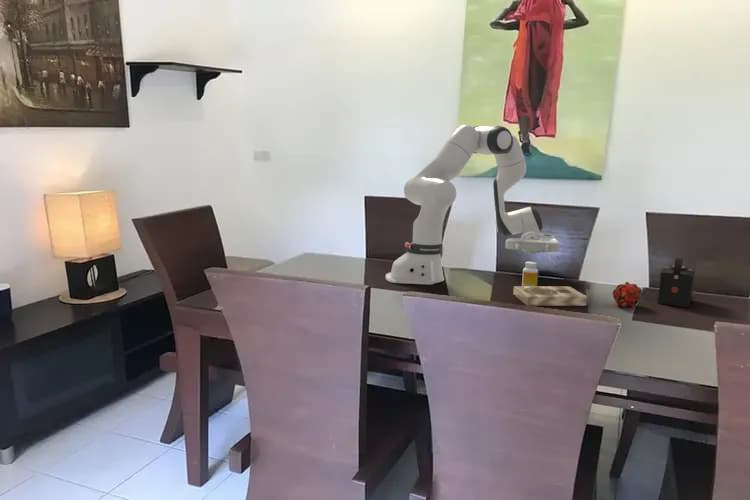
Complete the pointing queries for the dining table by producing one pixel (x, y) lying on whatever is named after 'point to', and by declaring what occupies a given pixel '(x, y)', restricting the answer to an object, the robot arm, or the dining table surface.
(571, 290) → the holder block
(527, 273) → the supplement bottle
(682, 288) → the camera
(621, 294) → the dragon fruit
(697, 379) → the dining table surface
